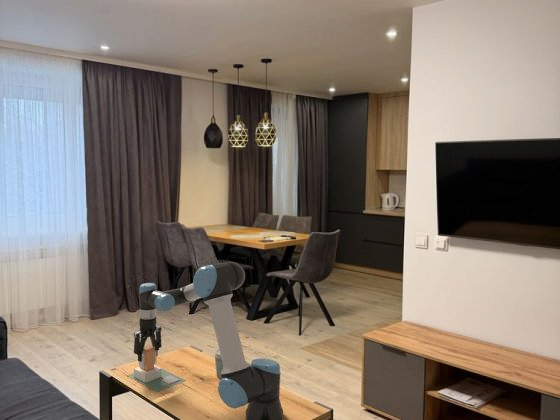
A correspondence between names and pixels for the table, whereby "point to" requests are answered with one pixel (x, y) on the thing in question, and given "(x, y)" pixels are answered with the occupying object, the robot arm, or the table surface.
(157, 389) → the peg socket board
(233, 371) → the robot arm
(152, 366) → the plug
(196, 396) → the table surface
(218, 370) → the coffee cup
